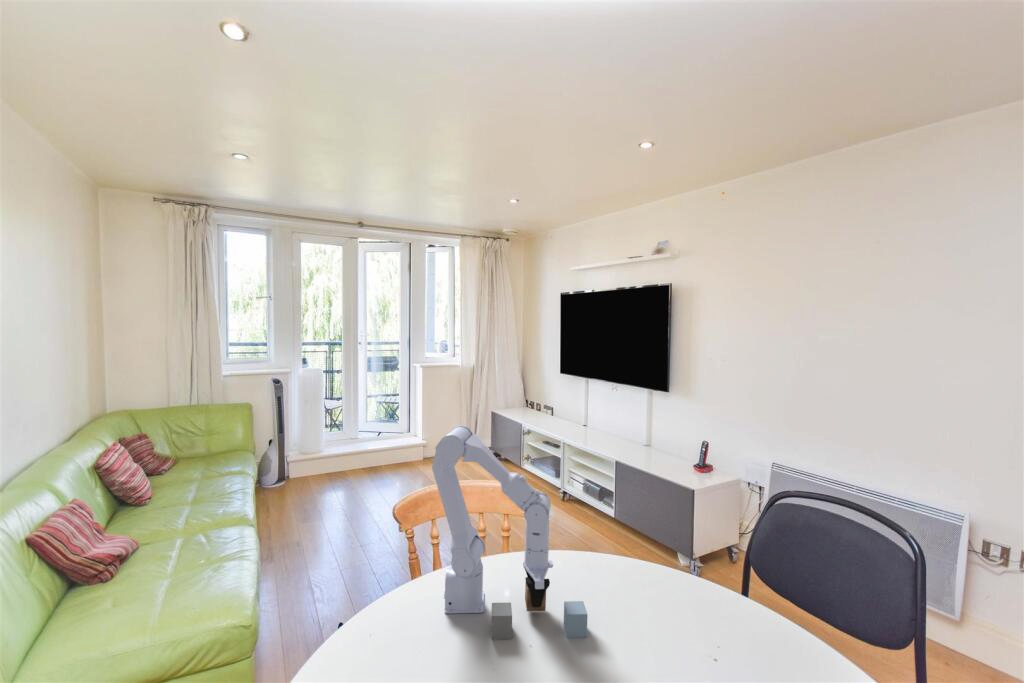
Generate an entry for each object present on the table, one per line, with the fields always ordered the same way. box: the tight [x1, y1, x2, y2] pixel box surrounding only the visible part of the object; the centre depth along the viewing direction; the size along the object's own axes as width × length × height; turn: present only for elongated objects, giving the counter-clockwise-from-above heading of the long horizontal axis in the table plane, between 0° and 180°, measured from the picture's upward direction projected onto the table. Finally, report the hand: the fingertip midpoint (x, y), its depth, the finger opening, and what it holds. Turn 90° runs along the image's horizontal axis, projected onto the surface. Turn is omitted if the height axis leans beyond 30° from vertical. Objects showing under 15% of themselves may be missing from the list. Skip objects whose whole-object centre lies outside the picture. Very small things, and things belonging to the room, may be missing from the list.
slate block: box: [563, 600, 588, 639], centre depth 104 cm, size 4×4×6 cm
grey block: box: [490, 602, 513, 640], centre depth 103 cm, size 4×4×6 cm
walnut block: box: [524, 583, 547, 612], centre depth 110 cm, size 4×4×6 cm
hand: (535, 599), depth 110 cm, fingers closed on walnut block, 4 cm apart
